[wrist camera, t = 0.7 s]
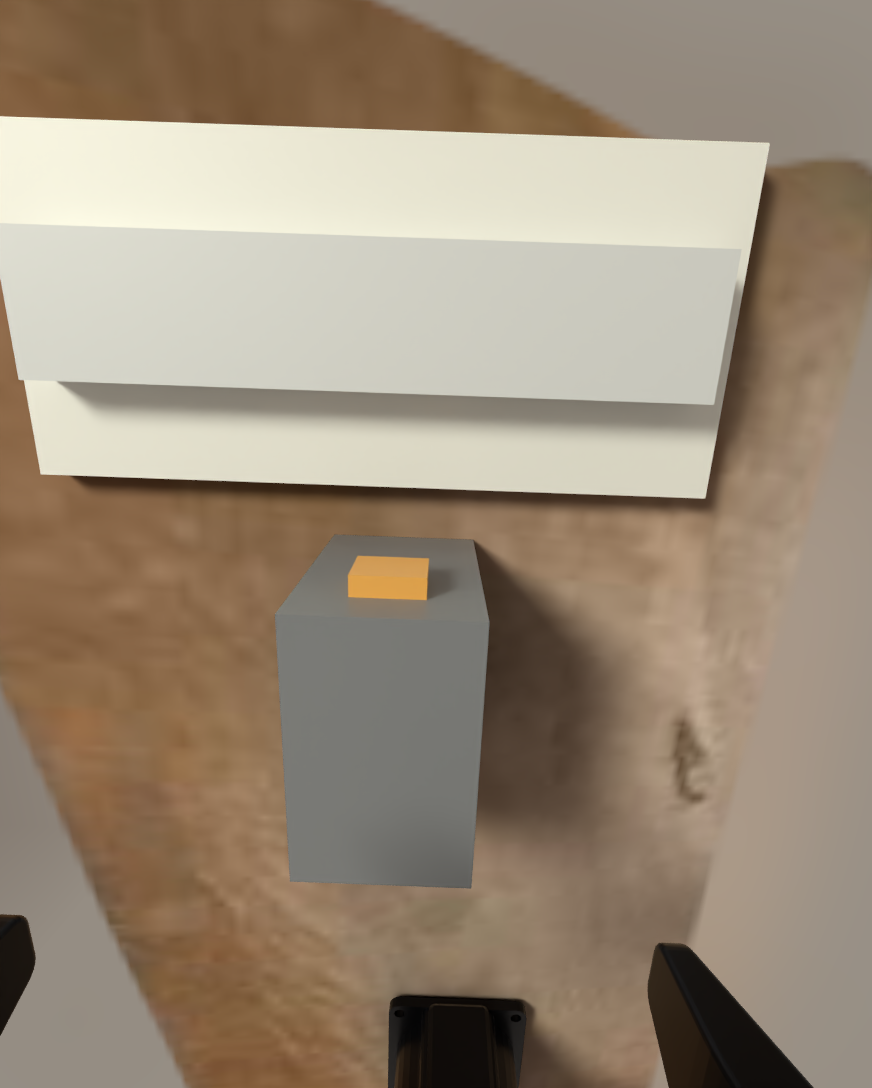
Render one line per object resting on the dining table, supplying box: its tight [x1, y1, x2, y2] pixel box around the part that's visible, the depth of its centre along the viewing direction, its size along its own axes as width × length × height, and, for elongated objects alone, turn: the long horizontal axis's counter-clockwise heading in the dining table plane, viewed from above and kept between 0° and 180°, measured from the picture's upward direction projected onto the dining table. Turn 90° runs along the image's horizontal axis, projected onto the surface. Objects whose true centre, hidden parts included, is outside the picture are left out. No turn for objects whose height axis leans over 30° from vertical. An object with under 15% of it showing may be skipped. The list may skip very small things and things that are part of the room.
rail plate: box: [0, 117, 770, 499], centre depth 16 cm, size 10×22×2 cm, turn 88°
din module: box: [275, 535, 490, 888], centre depth 17 cm, size 9×5×7 cm, turn 178°
